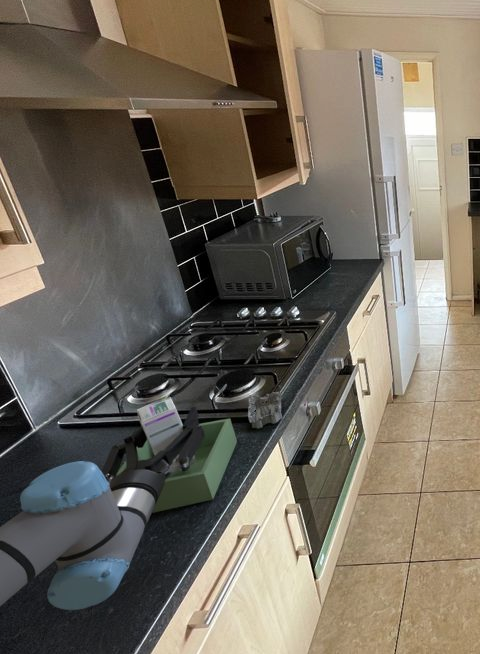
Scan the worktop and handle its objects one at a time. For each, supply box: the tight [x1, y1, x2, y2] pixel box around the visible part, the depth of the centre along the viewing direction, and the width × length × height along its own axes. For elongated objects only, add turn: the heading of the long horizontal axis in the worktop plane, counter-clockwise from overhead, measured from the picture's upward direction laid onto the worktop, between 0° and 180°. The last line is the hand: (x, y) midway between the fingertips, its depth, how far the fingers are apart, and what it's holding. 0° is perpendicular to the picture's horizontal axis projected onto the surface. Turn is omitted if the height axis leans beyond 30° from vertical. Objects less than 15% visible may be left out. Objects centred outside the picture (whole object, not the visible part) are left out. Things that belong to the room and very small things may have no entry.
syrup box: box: [136, 396, 196, 475], centre depth 86 cm, size 6×6×14 cm
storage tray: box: [116, 418, 238, 514], centre depth 89 cm, size 17×17×7 cm
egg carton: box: [247, 391, 283, 429], centre depth 108 cm, size 11×8×4 cm
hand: (173, 416), depth 90 cm, fingers closed on syrup box, 7 cm apart
